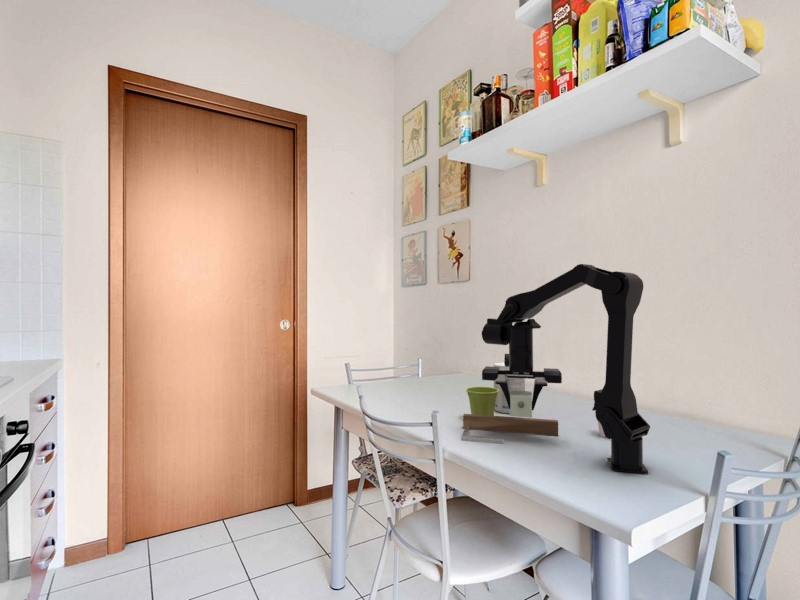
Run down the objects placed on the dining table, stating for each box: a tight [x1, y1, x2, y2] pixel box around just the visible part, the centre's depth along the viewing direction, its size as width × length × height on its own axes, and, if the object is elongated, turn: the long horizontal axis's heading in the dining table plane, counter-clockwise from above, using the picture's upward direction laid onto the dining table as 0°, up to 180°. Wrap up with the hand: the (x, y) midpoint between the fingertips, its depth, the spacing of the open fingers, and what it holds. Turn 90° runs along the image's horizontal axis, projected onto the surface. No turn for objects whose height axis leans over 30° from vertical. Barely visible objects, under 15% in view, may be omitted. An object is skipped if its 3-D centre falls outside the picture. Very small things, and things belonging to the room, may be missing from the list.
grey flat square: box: [460, 426, 504, 444], centre depth 111 cm, size 10×10×1 cm
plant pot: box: [465, 386, 499, 416], centre depth 127 cm, size 9×9×9 cm
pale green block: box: [509, 390, 533, 418], centre depth 109 cm, size 8×5×5 cm, turn 164°
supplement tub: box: [493, 361, 526, 415], centre depth 138 cm, size 10×10×15 cm
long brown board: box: [462, 413, 559, 437], centre depth 116 cm, size 2×24×4 cm, turn 74°
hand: (521, 409), depth 109 cm, fingers closed on pale green block, 5 cm apart
